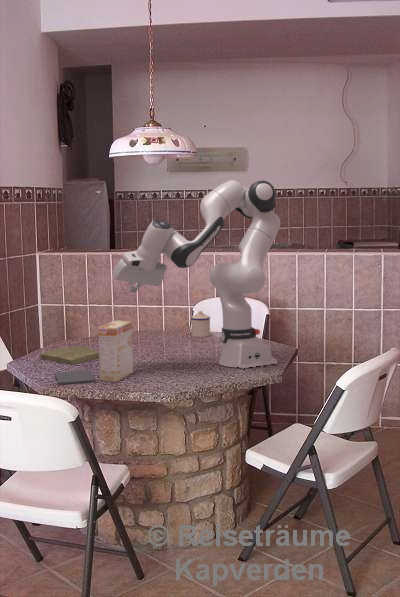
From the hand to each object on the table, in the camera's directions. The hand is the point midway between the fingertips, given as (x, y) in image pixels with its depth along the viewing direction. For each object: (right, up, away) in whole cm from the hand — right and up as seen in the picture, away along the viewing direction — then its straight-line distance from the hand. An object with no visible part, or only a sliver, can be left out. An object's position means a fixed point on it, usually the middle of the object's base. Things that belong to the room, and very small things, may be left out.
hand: (131, 291), depth 281 cm
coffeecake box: (-4, -31, -12) cm, 34 cm away
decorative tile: (-26, -28, +22) cm, 43 cm away
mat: (-19, -31, -14) cm, 39 cm away
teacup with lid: (+25, -20, +67) cm, 74 cm away
